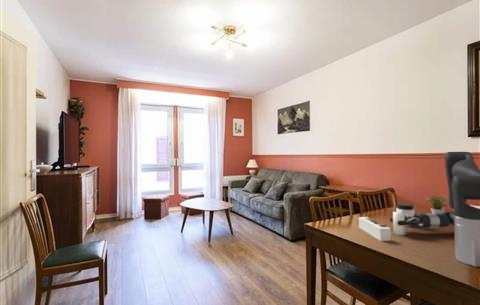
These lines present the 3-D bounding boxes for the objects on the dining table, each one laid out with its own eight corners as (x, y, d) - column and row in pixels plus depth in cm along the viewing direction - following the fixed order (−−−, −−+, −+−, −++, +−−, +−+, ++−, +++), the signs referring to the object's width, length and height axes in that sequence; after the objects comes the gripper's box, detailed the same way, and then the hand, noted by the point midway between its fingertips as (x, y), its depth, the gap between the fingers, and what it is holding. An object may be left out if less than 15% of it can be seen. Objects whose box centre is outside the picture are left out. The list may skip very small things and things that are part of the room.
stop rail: (390, 240, 118) (390, 228, 118) (380, 240, 118) (380, 228, 118) (367, 227, 140) (367, 216, 140) (358, 227, 140) (358, 217, 140)
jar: (410, 227, 138) (409, 206, 138) (394, 224, 145) (393, 204, 145) (416, 224, 143) (416, 204, 143) (401, 221, 150) (400, 202, 150)
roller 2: (385, 228, 138) (387, 228, 136) (372, 229, 138) (374, 228, 136) (383, 224, 139) (386, 223, 137) (371, 224, 139) (373, 224, 137)
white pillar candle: (407, 235, 125) (406, 213, 125) (397, 235, 125) (396, 214, 125) (401, 232, 130) (400, 211, 131) (391, 232, 131) (390, 211, 131)
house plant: (450, 216, 159) (449, 191, 159) (458, 221, 146) (457, 194, 146) (423, 214, 165) (422, 190, 165) (429, 219, 152) (428, 193, 152)
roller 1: (375, 224, 149) (377, 222, 146) (363, 224, 149) (365, 223, 146) (373, 219, 150) (375, 218, 148) (362, 220, 150) (364, 218, 148)
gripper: (416, 210, 135) (385, 211, 135) (436, 217, 121) (402, 217, 121) (416, 224, 135) (386, 224, 135) (437, 232, 121) (403, 232, 121)
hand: (394, 221), depth 128 cm, fingers open, 6 cm apart
